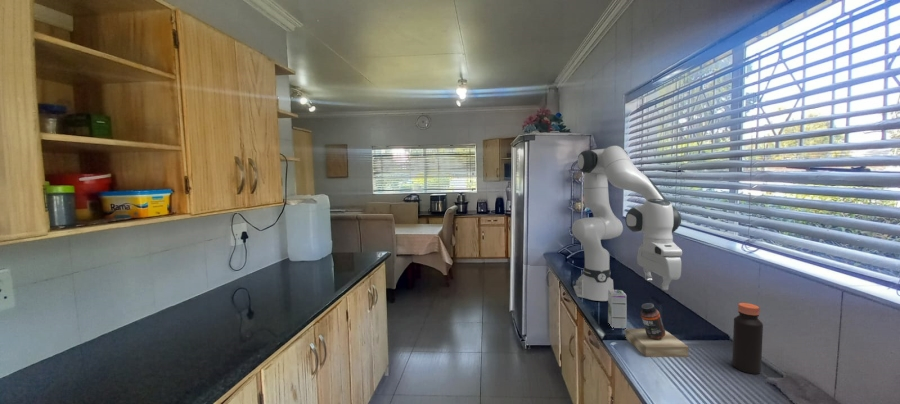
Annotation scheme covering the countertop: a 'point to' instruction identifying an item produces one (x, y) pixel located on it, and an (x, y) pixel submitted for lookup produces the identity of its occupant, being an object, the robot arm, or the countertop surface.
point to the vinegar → (747, 339)
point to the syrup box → (617, 309)
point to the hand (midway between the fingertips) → (656, 284)
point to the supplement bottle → (652, 321)
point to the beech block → (656, 344)
